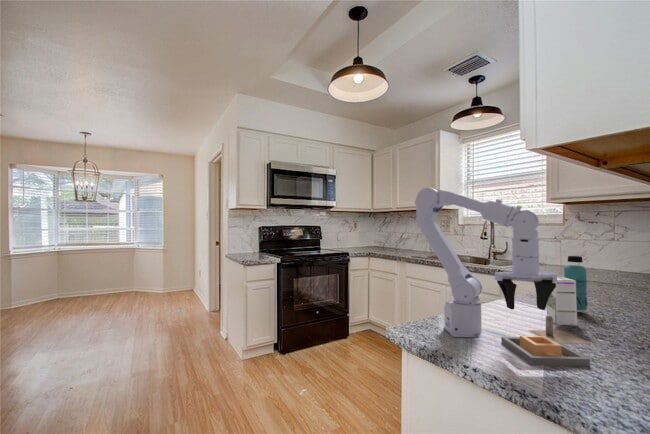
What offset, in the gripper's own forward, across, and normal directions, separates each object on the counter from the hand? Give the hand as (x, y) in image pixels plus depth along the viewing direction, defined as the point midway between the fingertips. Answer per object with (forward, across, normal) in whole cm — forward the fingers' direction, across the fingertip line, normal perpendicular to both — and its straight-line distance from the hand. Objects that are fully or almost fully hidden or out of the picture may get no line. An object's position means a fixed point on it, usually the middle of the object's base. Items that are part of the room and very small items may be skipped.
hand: (525, 308), depth 77 cm
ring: (+8, -1, -7) cm, 11 cm away
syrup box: (+10, +20, +16) cm, 28 cm away
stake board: (+9, +10, +4) cm, 14 cm away
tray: (+9, -1, -8) cm, 12 cm away
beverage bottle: (+10, +35, +31) cm, 48 cm away
